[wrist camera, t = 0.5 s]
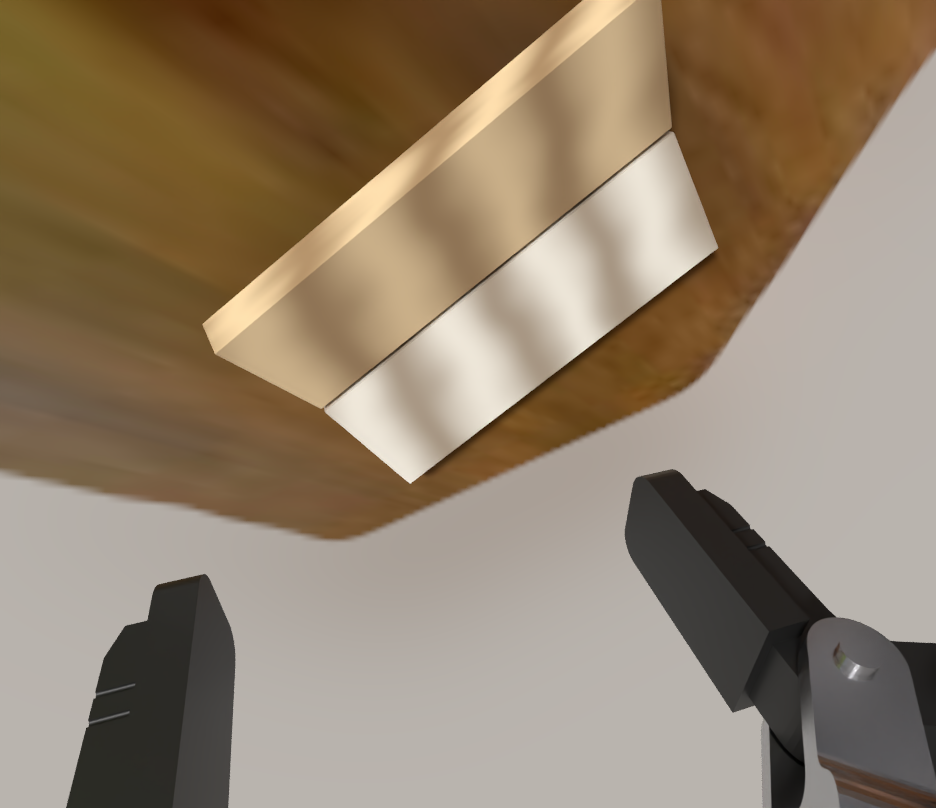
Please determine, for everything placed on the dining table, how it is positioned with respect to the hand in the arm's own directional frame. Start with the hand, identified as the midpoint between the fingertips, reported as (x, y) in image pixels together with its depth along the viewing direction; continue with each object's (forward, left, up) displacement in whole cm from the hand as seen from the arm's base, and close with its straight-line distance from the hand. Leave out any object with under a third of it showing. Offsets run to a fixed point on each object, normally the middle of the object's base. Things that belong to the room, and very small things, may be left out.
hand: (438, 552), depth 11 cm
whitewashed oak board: (-5, +12, -23) cm, 26 cm away
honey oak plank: (-5, +3, -21) cm, 22 cm away
